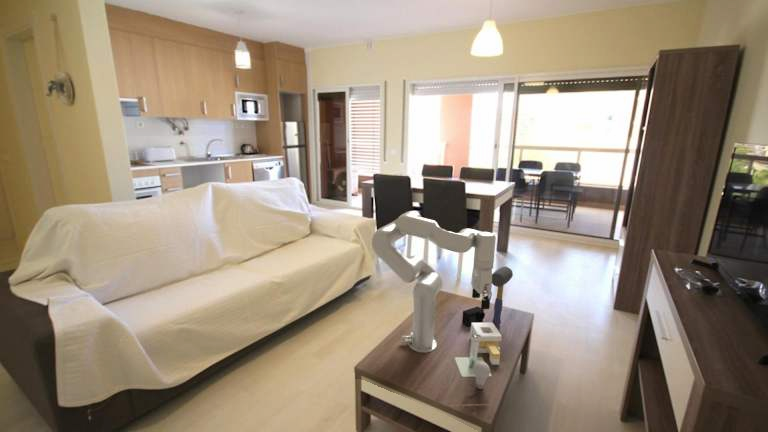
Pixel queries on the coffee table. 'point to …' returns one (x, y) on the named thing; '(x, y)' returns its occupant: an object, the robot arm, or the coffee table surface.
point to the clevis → (488, 340)
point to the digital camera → (473, 316)
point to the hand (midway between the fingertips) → (480, 303)
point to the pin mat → (466, 366)
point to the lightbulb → (481, 373)
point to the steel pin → (474, 348)
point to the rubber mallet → (500, 290)
